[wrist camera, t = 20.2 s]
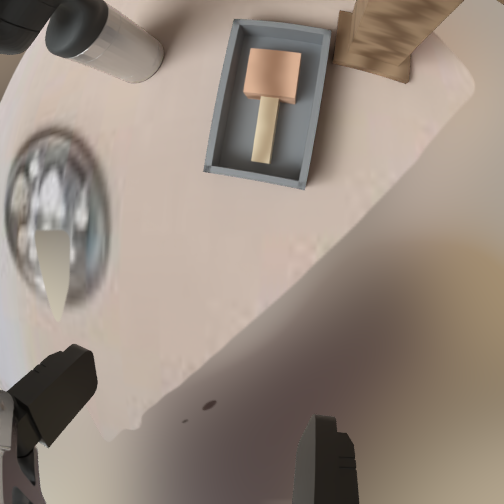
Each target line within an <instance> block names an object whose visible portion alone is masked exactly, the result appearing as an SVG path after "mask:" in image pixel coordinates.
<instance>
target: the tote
mask: <svg viewBox="0 0 504 504" xmlns="http://www.w3.org/2000/svg"><path fill="white" fill-rule="evenodd" d="M330 38H331V30H326V29H321V28H315V27H310V26H303V25H297V24H289V23H281V22H272V21H261V20H247V19H234V21H233V25H232V29H231V34H230V38H229V42H228V46H227V51H226V55H225V60H224V64H223V69H222V73H221V78H220V83H219V88H218V93H217V98H216V103H215V108H214V113H213V119H212V124H211V130H210V135H209V141H208V147H207V153H206V159H205V165H204V171H203V172H208V173H214V174H220V175H226V176H232V177H238V178H244V179H250V180H255V181H261V182H266V183H271V184H277V185H282V186H287V187H292V188H297V189H301V190H305V187H306V182H307V176H308V171H309V166H310V161H311V155H312V150H313V144H314V139H315V133H316V127H317V122H318V116H319V110H320V104H321V98H322V92H323V85H324V79H325V73H326V66H327V59H328V52H329V45H330ZM251 48H256V49H268V50H278V51H287V52H295V53H301V68H300V75H299V82H298V90H297V97H296V104H289V103H282V102H280V106H279V113H278V119H277V126H276V133H275V139H274V146H273V152H272V159H271V164H267V163H260V162H253V161H251V159H252V152H253V145H254V139H255V132H256V125H257V119H258V112H259V106H260V100H257V99H248V98H247V96H246V95H245V94H244V92H243V90H244V84H245V78H246V72H247V66H248V60H249V55H250V49H251Z"/></svg>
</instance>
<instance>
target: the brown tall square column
mask: <svg viewBox="0 0 504 504" xmlns="http://www.w3.org/2000/svg"><path fill="white" fill-rule="evenodd" d="M463 1H464V0H356V3H355V6H354V9H353V13H350V12H345V11H341V10H340V12H339V18H338V26H337V34H336V42H335V49H334V56H333V64H338V65H342V66H346V67H350V68H354V69H358V70H362V71H366V72H369V73H373V74H376V75H380V76H383V77H386V78H389V79H393V80H396V81H399V82H402V83H405V84H406V83H408V82H409V74H410V59H411V53H412V52H413V51H414V50H415V49H416V48H417V47H418V46H419V45H420V44H421V43H422V42H423V41H424V40H425V39H426V38H427V37H428V36H429V35H430V34H431V33H432V32H433V31H434V30H435V29H436V28H437V26H439V25H440V24H441V23H442V21H444V20H445V19H446V18H447V16H449V14H451V13H452V12H453V11H454V10H455V9H456V8H457V7H458V6H459V5H460V4H461V3H462V2H463ZM497 1H499V2H500V3H502V4H503V5H504V0H497Z"/></svg>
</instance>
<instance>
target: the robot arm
mask: <svg viewBox="0 0 504 504" xmlns="http://www.w3.org/2000/svg"><path fill="white" fill-rule="evenodd" d="M50 17H51V18H50ZM49 18H50V21H49V24H48V27H47V31H46V37H45V41H46V46H47V49H48V50H49V51H50V52H51V53H52V54H54V55H57V56H60V57H63V58H66V59H69V60H72V61H74V62H78V63H80V64H83V65H86V66H88V67H91V68H94V69H96V70H99V71H102V72H104V73H107V74H109V75H112V76H114V77H116V78H119V79H121V80H124V81H126V82H129V83H139V82H142V81H145V80H147V79H148V78H150V77H151V76H152V75H153V74H154V73H155V72H156V71H157V70H158V68H159V67H160V65H161V63H162V60H163V55H164V51H163V47H162V45H161V43H160V42H159V41H158V40H156V39H155V38H154V37H153V36H151V35H150V34H149V33H148V32H146V31H145V30H144V29H142V28H141V27H140V26H138V25H137V24H136V23H134V22H133V21H132V20H130V19H129V18H128V17H126V16H125V15H123V14H122V13H121V12H119V11H118V10H116V9H115V8H113V7H112V6H110V5H109V4H107V3H106V2H105V1H103V0H0V54H7V55H13V54H20V53H22V52H24V51H26V50H27V49H28V48H29V46H30V45H31V44H32V42H33V41H34V40H35V38H36V37H37V36H38V34H39V33H40V30H42V28H43V27H44V25H45V24H46V22H47V21H48V20H49ZM97 384H98V381H97V375H96V369H95V363H94V356H93V353H92V352H91V351H90V350H87V349H85V348H83V347H81V346H79V345H77V344H72V345H71V346H69V347H68V348H67V349H66V350H65V351H64V352H62V351H59V352H57V353H54V354H52V355H49V356H48V357H47V358H45V359H44V360H43V361H42V362H41V363H40V365H39V364H38V365H37V366H36V367H35V368H34V369H33V371H32V370H31V371H30V372H29V373H28V374H27V375H25V376H24V377H23V378H22V379H21V380H20V381H18V382H17V383H16V384H15V385H14V386H13V387H12V388H10V389H9V390H8V391H7V392H5V391H3V390H0V504H46V502H45V500H44V497H43V495H42V492H41V488H40V477H39V465H38V449H37V446H36V444H37V443H38V442H40V443H41V444H43V445H44V446H46V447H47V448H49V447H50V446H51V444H52V443H53V442H54V441H55V440H56V438H57V437H58V436H59V435H60V434H61V432H62V431H63V430H64V429H65V428H66V426H67V425H68V424H69V423H70V422H71V421H72V419H73V418H74V417H75V416H76V415H77V414H78V412H79V411H80V410H81V409H82V408H83V406H84V405H85V404H86V403H87V402H88V401H89V400H90V398H91V397H92V396H93V395H94V393H95V391H96V389H97ZM292 504H359V495H358V483H357V471H356V461H355V452H354V444H353V443H352V441H351V439H350V438H349V436H348V434H347V433H340V432H337V427H336V418H335V417H330V416H322V415H315V414H314V415H312V417H311V419H310V421H309V423H308V425H307V427H306V429H305V431H304V433H303V435H302V437H301V440H300V442H299V445H298V449H297V454H296V467H295V479H294V490H293V501H292Z"/></svg>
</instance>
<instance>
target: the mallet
mask: <svg viewBox="0 0 504 504" xmlns="http://www.w3.org/2000/svg"><path fill="white" fill-rule="evenodd" d="M300 68H301V53H295V52H287V51H278V50H268V49H256V48H251V49H250V55H249V60H248V66H247V72H246V78H245V84H244V90H243V92H244V94H245V95H246V96H247V98H248V99H257V100H260V106H259V112H258V119H257V125H256V132H255V139H254V145H253V152H252V159H251V161H253V162H260V163H267V164H271V159H272V152H273V146H274V139H275V133H276V126H277V119H278V113H279V106H280V102H282V103H289V104H296V97H297V90H298V82H299V75H300Z"/></svg>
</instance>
